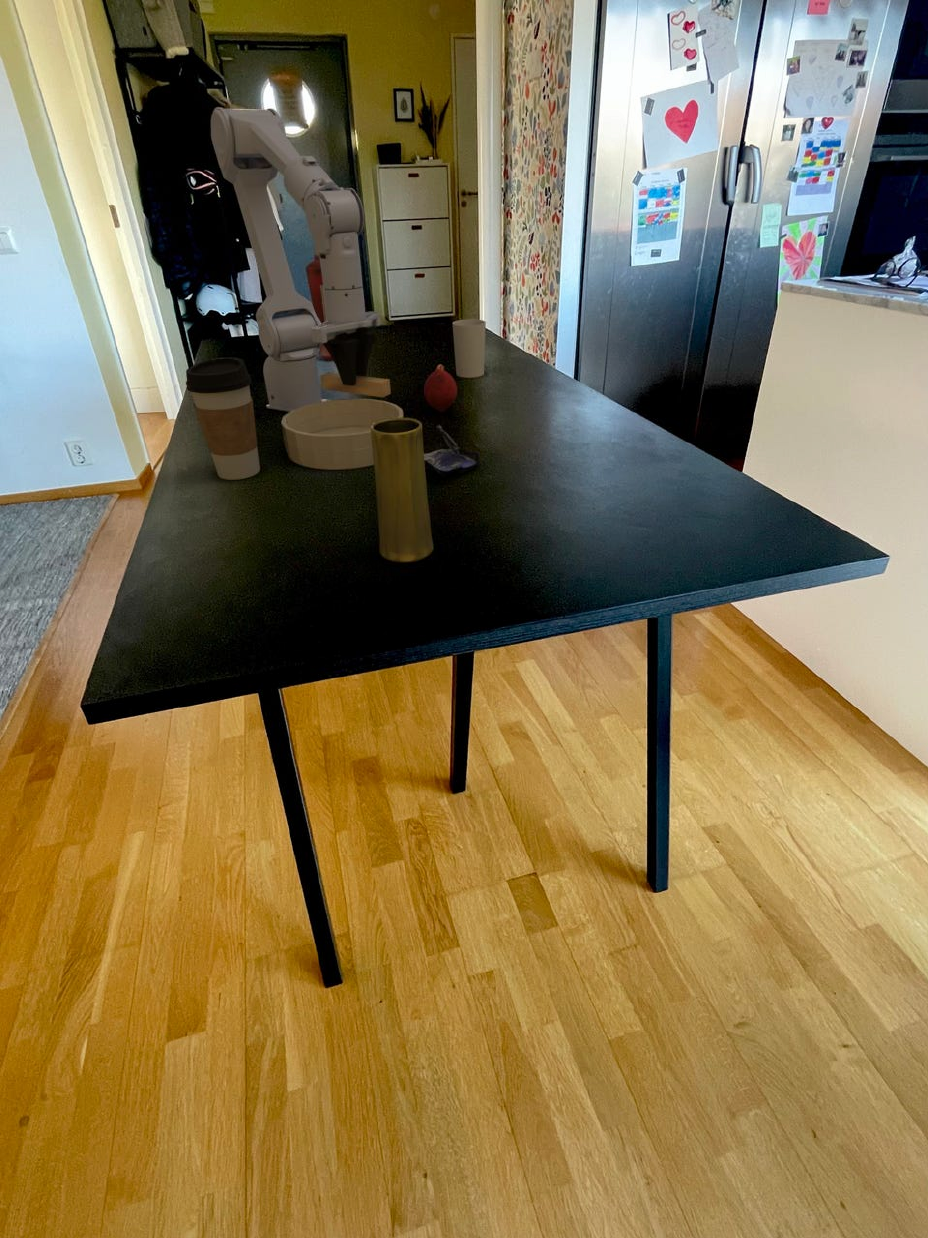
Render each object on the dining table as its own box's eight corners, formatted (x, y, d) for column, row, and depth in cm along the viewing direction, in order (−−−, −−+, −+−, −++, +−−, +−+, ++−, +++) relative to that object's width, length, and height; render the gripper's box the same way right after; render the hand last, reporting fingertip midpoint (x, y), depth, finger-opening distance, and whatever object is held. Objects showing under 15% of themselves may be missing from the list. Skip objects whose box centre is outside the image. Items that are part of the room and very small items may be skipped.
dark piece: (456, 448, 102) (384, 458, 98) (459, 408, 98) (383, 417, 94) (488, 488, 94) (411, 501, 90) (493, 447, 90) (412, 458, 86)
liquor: (334, 352, 158) (316, 215, 142) (356, 356, 154) (341, 215, 138) (311, 359, 153) (290, 217, 137) (334, 363, 149) (315, 218, 134)
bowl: (262, 457, 101) (255, 425, 98) (337, 423, 114) (333, 393, 111) (358, 477, 93) (354, 443, 90) (427, 438, 106) (425, 406, 103)
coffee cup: (280, 464, 98) (260, 358, 90) (247, 486, 91) (222, 373, 83) (232, 459, 100) (208, 355, 92) (196, 479, 94) (167, 370, 85)
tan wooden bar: (322, 389, 107) (320, 375, 106) (330, 385, 109) (328, 371, 108) (383, 397, 102) (381, 382, 101) (390, 393, 104) (389, 379, 103)
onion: (453, 417, 114) (452, 369, 110) (421, 416, 115) (418, 368, 111) (460, 407, 119) (459, 361, 115) (429, 406, 120) (427, 360, 116)
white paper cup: (486, 377, 136) (485, 325, 130) (453, 378, 136) (452, 326, 130) (486, 369, 141) (485, 318, 135) (454, 370, 141) (453, 319, 136)
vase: (380, 539, 77) (367, 417, 69) (432, 536, 78) (425, 414, 70) (378, 565, 72) (364, 436, 64) (435, 561, 72) (427, 433, 64)
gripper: (334, 295, 90) (346, 397, 98) (393, 281, 101) (400, 374, 108) (294, 293, 93) (309, 391, 101) (356, 279, 104) (365, 369, 111)
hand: (354, 382), depth 105 cm, fingers closed on tan wooden bar, 2 cm apart
